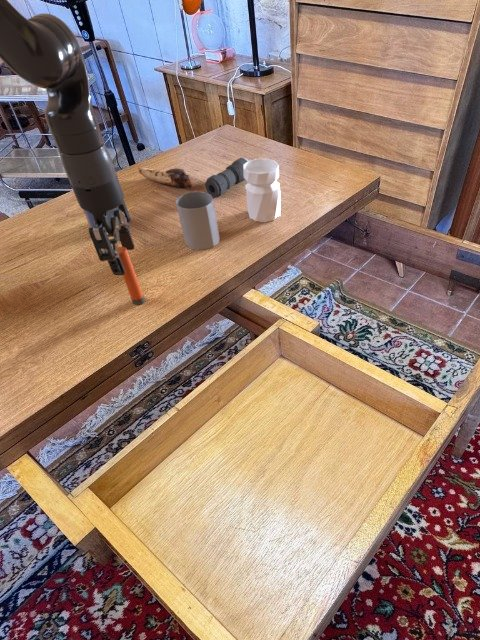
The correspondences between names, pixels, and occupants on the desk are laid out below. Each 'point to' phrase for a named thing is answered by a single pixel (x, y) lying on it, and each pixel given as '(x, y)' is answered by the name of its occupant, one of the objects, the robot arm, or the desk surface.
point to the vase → (262, 189)
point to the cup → (198, 220)
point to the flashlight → (226, 178)
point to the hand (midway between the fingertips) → (124, 261)
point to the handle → (131, 278)
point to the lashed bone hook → (167, 176)
